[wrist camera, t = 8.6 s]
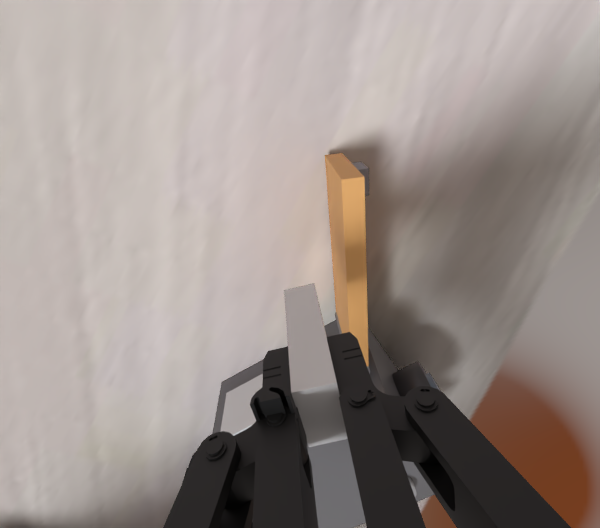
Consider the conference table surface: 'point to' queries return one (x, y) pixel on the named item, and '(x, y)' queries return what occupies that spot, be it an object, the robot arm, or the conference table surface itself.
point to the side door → (349, 244)
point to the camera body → (336, 455)
